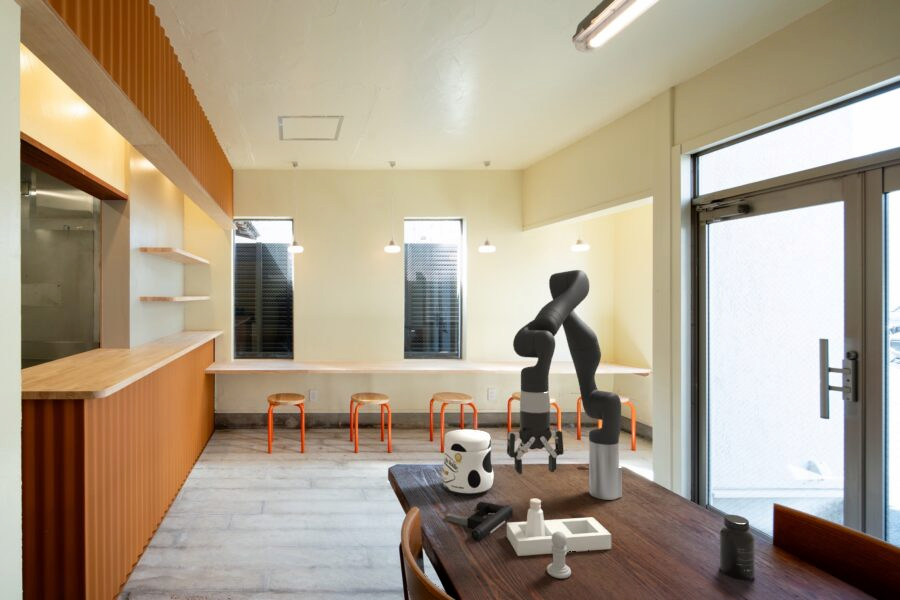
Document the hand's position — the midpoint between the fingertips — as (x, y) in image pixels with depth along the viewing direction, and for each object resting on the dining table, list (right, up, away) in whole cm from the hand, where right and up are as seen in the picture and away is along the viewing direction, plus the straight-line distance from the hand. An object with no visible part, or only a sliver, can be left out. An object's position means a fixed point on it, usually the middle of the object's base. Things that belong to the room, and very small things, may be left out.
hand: (535, 472), depth 118 cm
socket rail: (+6, -18, 0) cm, 19 cm away
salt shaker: (0, -18, -1) cm, 18 cm away
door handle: (-14, -19, +12) cm, 27 cm away
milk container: (-16, -20, +36) cm, 44 cm away
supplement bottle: (+43, -18, -13) cm, 49 cm away
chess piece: (+3, -18, -14) cm, 23 cm away
